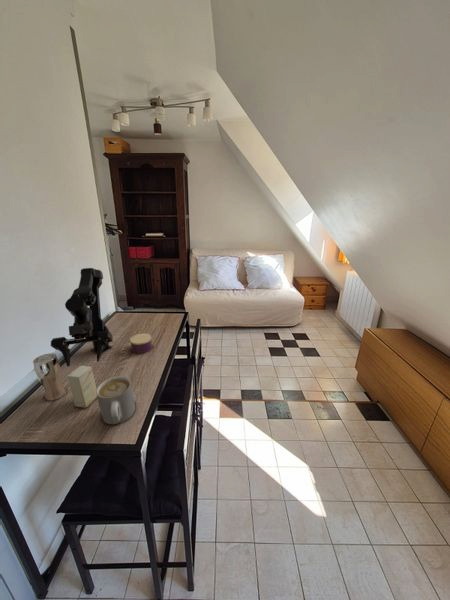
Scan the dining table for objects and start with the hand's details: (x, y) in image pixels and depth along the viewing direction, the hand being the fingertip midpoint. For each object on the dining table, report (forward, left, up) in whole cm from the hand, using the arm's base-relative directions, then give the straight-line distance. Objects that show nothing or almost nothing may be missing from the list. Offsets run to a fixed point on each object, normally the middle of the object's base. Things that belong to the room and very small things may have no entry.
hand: (83, 363), depth 86 cm
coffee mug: (+19, -4, -12) cm, 22 cm away
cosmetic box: (+4, -4, -12) cm, 13 cm away
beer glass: (-9, -7, -12) cm, 16 cm away
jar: (-4, +30, -11) cm, 33 cm away
